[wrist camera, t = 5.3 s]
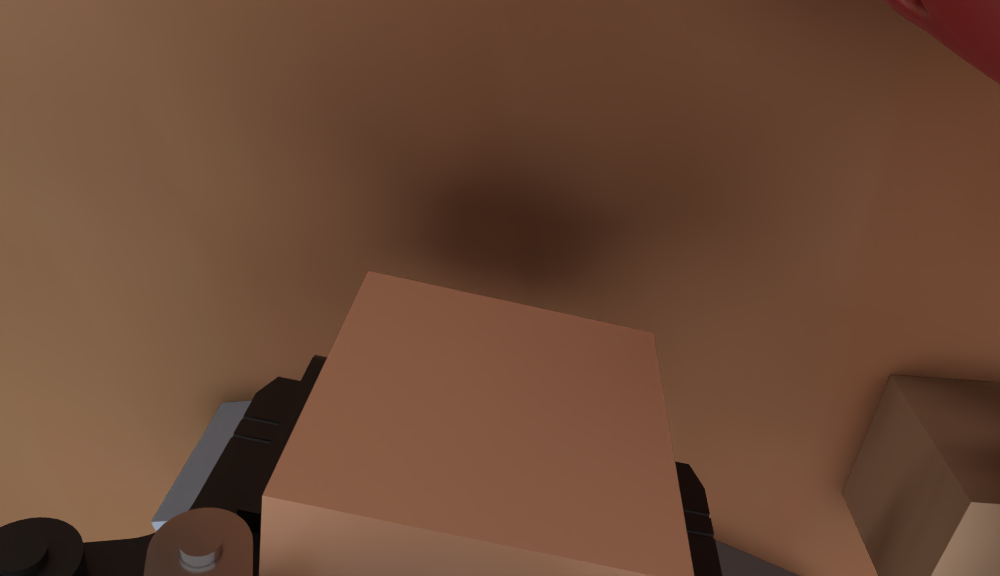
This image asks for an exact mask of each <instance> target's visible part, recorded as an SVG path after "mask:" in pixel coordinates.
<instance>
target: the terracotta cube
mask: <svg viewBox="0 0 1000 576" xmlns="http://www.w3.org/2000/svg"><path fill="white" fill-rule="evenodd" d="M259 576H694V572H693V566H692V560H691V554H690V548H689V542H688V536H687V530H686V524H685V518H684V512H683V506H682V500H681V494H680V488H679V483H678V477H677V471H676V465H675V459H674V453H673V447H672V441H671V435H670V429H669V423H668V417H667V411H666V405H665V399H664V393H663V387H662V382H661V376H660V370H659V364H658V358H657V352H656V346H655V340H654V334H653V333H652V332H647V331H643V330H638V329H634V328H629V327H624V326H620V325H615V324H611V323H606V322H601V321H597V320H592V319H588V318H583V317H578V316H574V315H569V314H565V313H560V312H556V311H551V310H546V309H542V308H537V307H533V306H528V305H523V304H519V303H514V302H510V301H505V300H500V299H496V298H491V297H487V296H482V295H477V294H473V293H468V292H464V291H459V290H454V289H450V288H445V287H441V286H436V285H432V284H427V283H422V282H418V281H413V280H409V279H404V278H399V277H395V276H390V275H386V274H381V273H376V272H372V271H368V272H367V274H366V277H365V279H364V281H363V283H362V285H361V287H360V289H359V291H358V293H357V296H356V298H355V300H354V302H353V304H352V306H351V308H350V310H349V313H348V315H347V317H346V319H345V321H344V323H343V325H342V327H341V330H340V332H339V334H338V336H337V338H336V340H335V342H334V344H333V347H332V349H331V351H330V353H329V355H328V357H327V359H326V361H325V363H324V366H323V368H322V370H321V372H320V374H319V376H318V378H317V380H316V383H315V385H314V387H313V389H312V391H311V393H310V395H309V397H308V400H307V402H306V404H305V406H304V408H303V410H302V412H301V414H300V416H299V419H298V421H297V423H296V425H295V427H294V429H293V431H292V433H291V436H290V438H289V440H288V442H287V444H286V446H285V448H284V450H283V453H282V455H281V457H280V459H279V461H278V463H277V465H276V467H275V469H274V472H273V474H272V476H271V478H270V480H269V482H268V484H267V486H266V489H265V491H264V493H263V495H262V513H261V537H260V562H259Z"/></svg>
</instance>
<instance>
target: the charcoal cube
mask: <svg viewBox="0 0 1000 576" xmlns="http://www.w3.org/2000/svg"><path fill="white" fill-rule="evenodd" d="M715 542H716V547H717V551H718V556H719V561H720V566H721V571H722V576H799V575H796V574H794V573H792V572H789V571H787V570H785V569H782V568H780V567H778V566H775V565H773V564H771V563H768V562H766V561H763V560H761V559H759V558H756V557H754V556H752V555H749V554H747V553H745V552H742V551H740V550H738V549H735V548H733V547H731V546H728V545H726V544H724V543H721V542H719V541H717V540H715Z"/></svg>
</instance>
